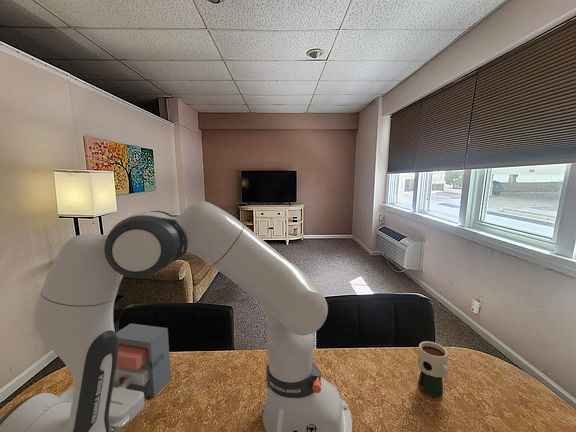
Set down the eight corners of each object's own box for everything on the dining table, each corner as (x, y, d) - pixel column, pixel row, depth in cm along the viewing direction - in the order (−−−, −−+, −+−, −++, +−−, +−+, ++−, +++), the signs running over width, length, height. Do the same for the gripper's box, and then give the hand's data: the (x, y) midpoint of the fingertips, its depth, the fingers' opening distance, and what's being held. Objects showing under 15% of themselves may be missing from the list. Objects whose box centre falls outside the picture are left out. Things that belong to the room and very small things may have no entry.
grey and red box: (154, 397, 70) (150, 342, 68) (115, 389, 72) (110, 336, 70) (170, 378, 77) (167, 328, 75) (134, 371, 79) (130, 323, 77)
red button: (136, 370, 65) (135, 358, 65) (105, 364, 67) (104, 353, 67) (148, 359, 69) (147, 348, 69) (118, 354, 71) (117, 343, 71)
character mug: (407, 377, 77) (409, 338, 75) (428, 374, 78) (430, 336, 76) (432, 408, 66) (435, 363, 65) (456, 405, 67) (460, 360, 66)
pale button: (143, 385, 68) (142, 374, 67) (112, 380, 70) (111, 369, 69) (154, 374, 72) (153, 364, 71) (124, 369, 74) (123, 359, 73)
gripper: (114, 421, 53) (160, 372, 66) (38, 404, 57) (96, 362, 70) (117, 447, 53) (161, 394, 67) (42, 429, 57) (98, 382, 71)
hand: (127, 377), depth 69 cm, fingers closed, pressing on pale button
